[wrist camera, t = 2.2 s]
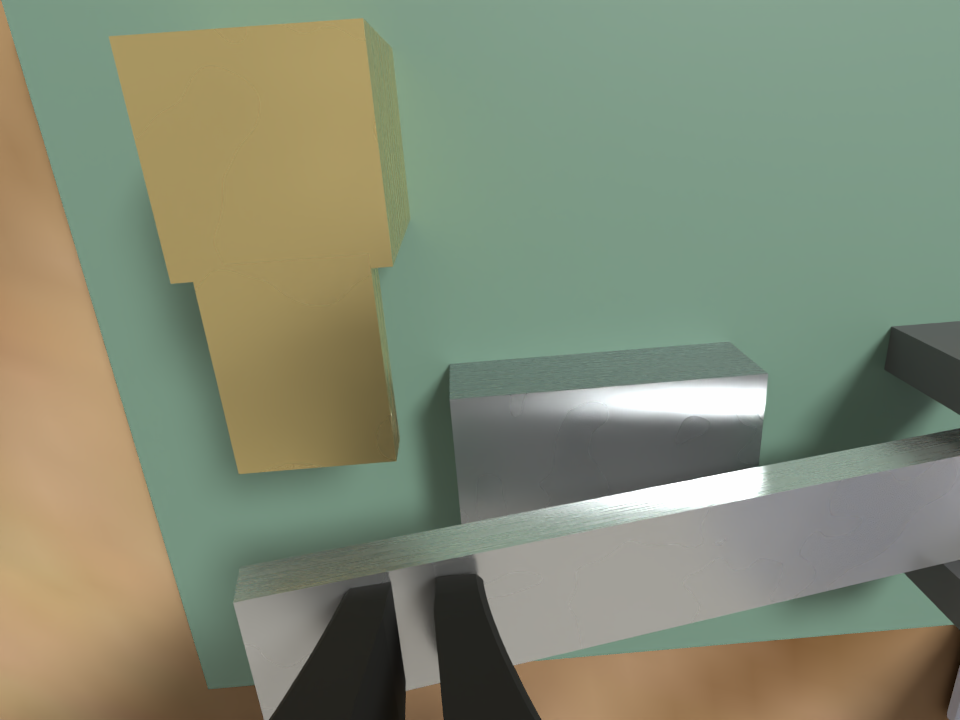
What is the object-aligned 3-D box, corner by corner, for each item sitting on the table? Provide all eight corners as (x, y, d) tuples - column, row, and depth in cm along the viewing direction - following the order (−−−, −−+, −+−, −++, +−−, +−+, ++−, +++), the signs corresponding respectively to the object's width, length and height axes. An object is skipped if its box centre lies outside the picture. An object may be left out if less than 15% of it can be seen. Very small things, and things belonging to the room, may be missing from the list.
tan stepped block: (392, 48, 11) (363, 18, 8) (425, 361, 14) (416, 459, 10) (222, 60, 11) (109, 36, 8) (283, 372, 14) (218, 476, 10)
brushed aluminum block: (729, 341, 14) (768, 373, 12) (714, 535, 16) (746, 586, 14) (449, 364, 14) (449, 399, 12) (467, 555, 16) (469, 610, 14)
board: (1097, -79, 12) (1493, -194, 8) (937, 591, 18) (1105, 758, 13) (39, -4, 12) (-224, -76, 7) (223, 652, 18) (143, 845, 13)
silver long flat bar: (1010, 412, 13) (1064, 436, 12) (982, 520, 14) (1030, 549, 13) (239, 560, 10) (231, 604, 9) (269, 679, 11) (264, 731, 10)
